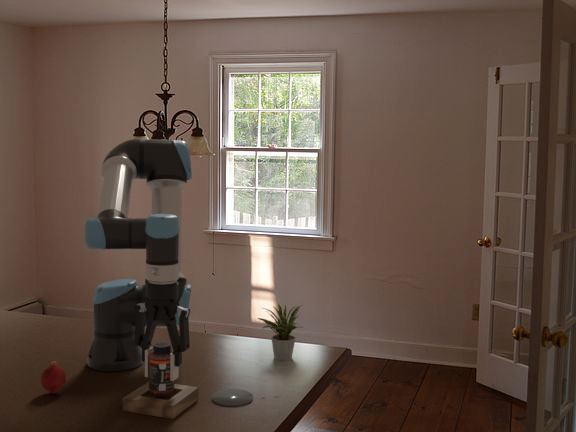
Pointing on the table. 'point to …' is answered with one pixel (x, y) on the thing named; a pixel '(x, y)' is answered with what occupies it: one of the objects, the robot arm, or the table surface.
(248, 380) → the table surface
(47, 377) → the onion
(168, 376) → the supplement bottle
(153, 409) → the pocket holder
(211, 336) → the table surface
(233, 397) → the grey domed disc
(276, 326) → the house plant
